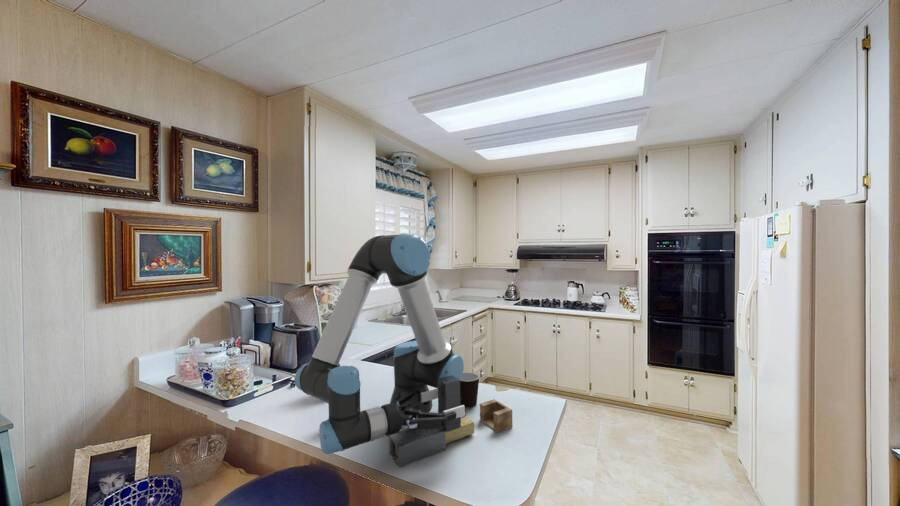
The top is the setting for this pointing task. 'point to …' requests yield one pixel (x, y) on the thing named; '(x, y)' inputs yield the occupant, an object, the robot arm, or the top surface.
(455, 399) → the grey yellow upright-t piece
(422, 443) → the sleeve
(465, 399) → the coffee mug
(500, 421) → the open wooden box
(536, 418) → the top surface
